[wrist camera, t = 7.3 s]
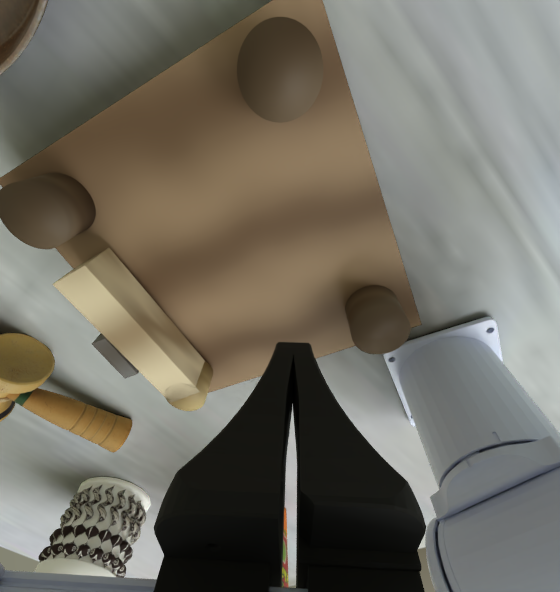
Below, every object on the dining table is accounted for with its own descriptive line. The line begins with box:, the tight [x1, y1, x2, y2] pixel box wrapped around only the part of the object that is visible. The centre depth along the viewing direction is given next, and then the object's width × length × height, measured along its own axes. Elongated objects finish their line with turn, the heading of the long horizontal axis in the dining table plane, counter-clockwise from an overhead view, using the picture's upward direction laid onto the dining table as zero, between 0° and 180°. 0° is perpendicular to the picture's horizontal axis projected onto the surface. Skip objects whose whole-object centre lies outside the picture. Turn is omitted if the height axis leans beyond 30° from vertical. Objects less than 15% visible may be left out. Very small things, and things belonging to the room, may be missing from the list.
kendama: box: [0, 333, 132, 452], centre depth 26 cm, size 8×6×18 cm
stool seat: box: [0, 0, 422, 393], centre depth 18 cm, size 18×18×5 cm
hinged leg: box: [53, 248, 213, 411], centre depth 20 cm, size 11×3×2 cm, turn 28°
